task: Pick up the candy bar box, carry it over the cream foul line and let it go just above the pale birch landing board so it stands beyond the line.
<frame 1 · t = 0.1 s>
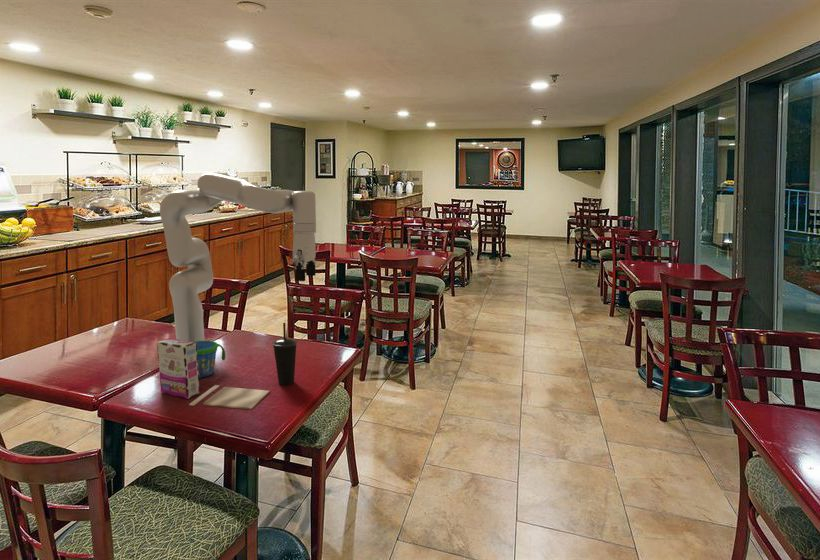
hand: (305, 278, 173), 31 cm above the table, tool pointing down, fingers open, 9 cm apart
drinking cup: (286, 383, 163), on the table
snack cup: (202, 374, 169), on the table
candy bar box: (180, 393, 154), on the table
landing board: (237, 398, 151), on the table
foul line: (204, 395, 152), on the table
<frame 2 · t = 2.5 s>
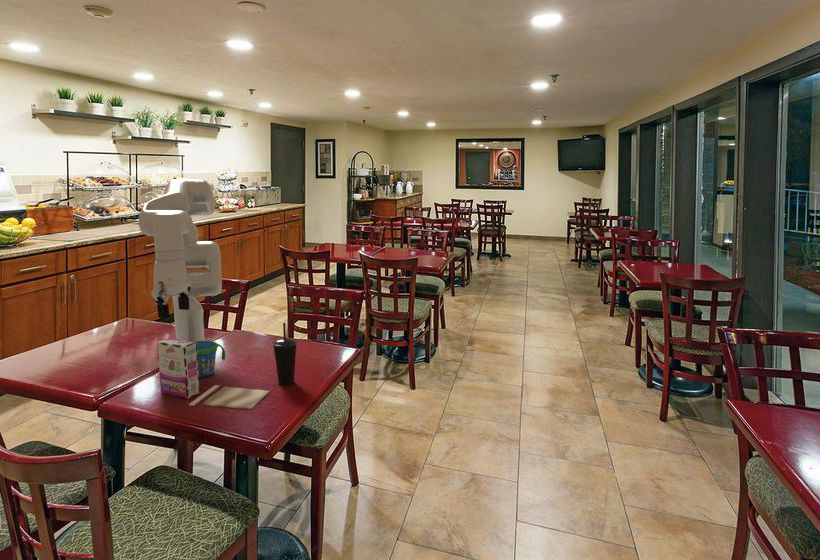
hand: (174, 313, 149), 25 cm above the table, tool pointing down, fingers open, 9 cm apart
nothing on the table moved.
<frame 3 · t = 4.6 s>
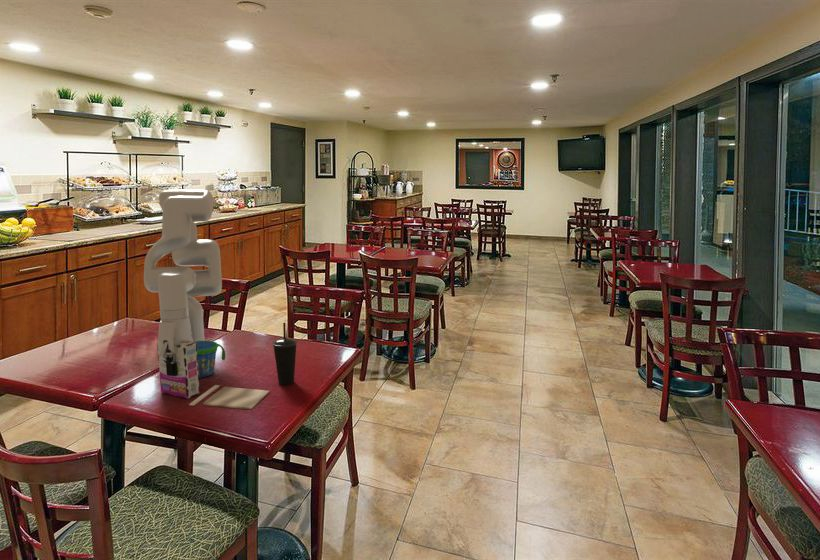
hand: (178, 370, 152), 7 cm above the table, tool pointing down, fingers closed on candy bar box, 5 cm apart
candy bar box: (180, 393, 154), on the table, touching gripper
everything else where it was.
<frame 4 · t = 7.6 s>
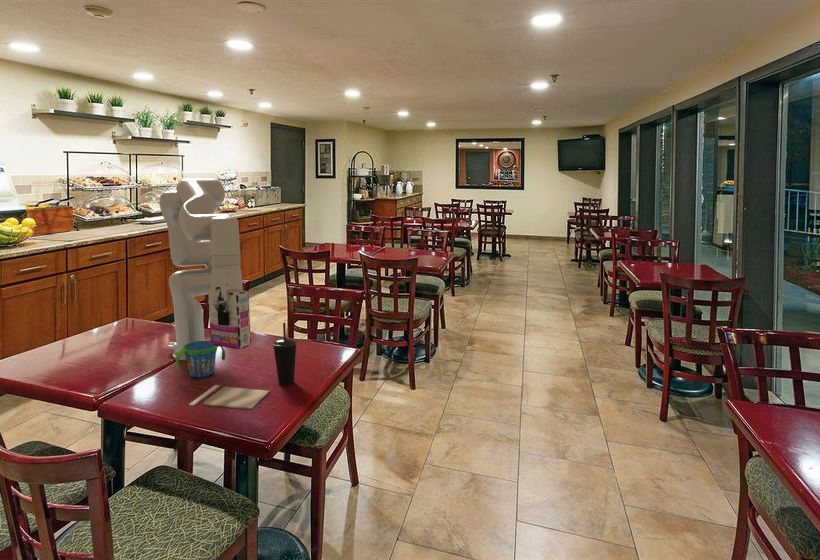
hand: (229, 321, 146), 24 cm above the table, tool pointing down, fingers closed on candy bar box, 5 cm apart
candy bar box: (231, 345, 148), point 16 cm above the table, touching gripper
everything else where it was.
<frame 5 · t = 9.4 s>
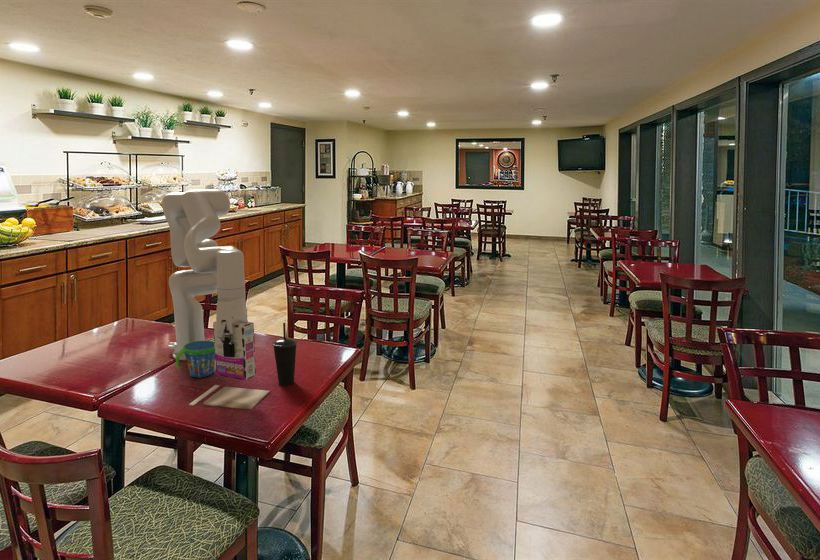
hand: (234, 352, 148), 14 cm above the table, tool pointing down, fingers closed on candy bar box, 5 cm apart
candy bar box: (236, 376, 149), point 7 cm above the table, touching gripper
everything else where it was.
when the fingers open (9 cm above the table, at t = 10.9 s): candy bar box drops 1 cm, resting on landing board.
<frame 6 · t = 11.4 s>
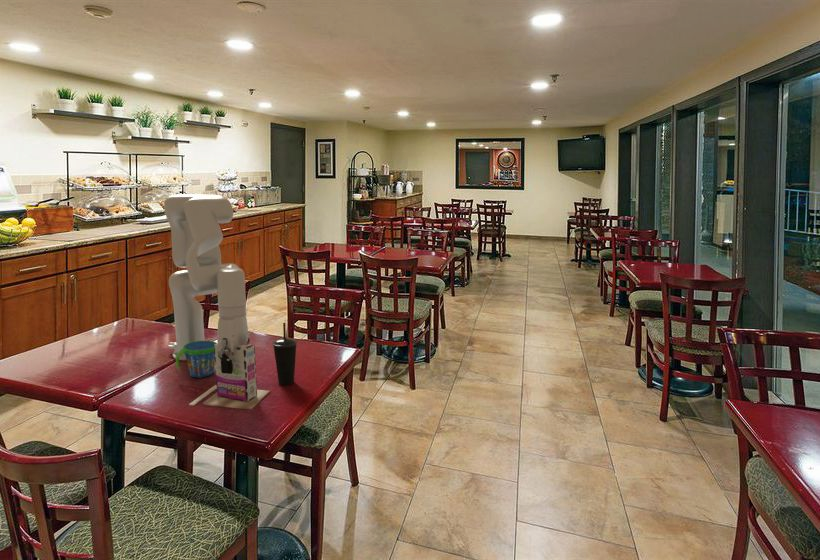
hand: (235, 367, 149), 10 cm above the table, tool pointing down, fingers open, 9 cm apart
candy bar box: (237, 396, 151), resting on landing board
everything else where it was.
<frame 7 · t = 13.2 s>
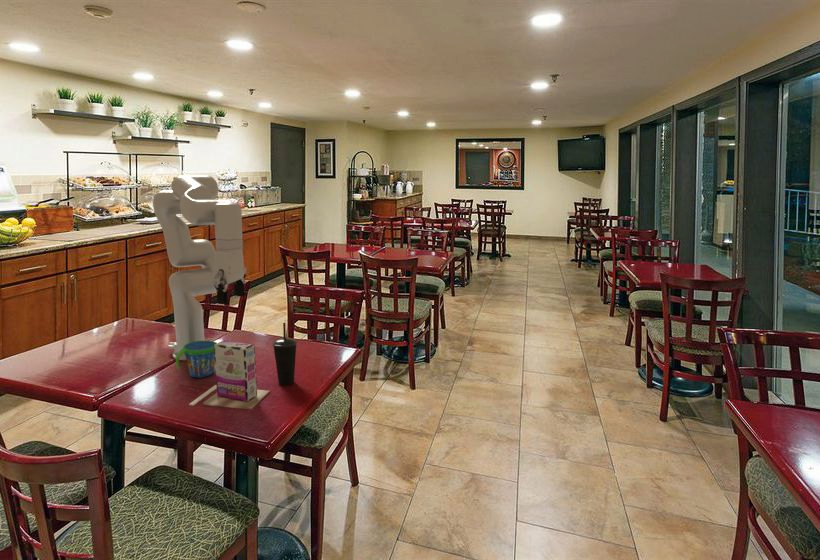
hand: (231, 299, 154), 28 cm above the table, tool pointing down, fingers open, 9 cm apart
nothing on the table moved.
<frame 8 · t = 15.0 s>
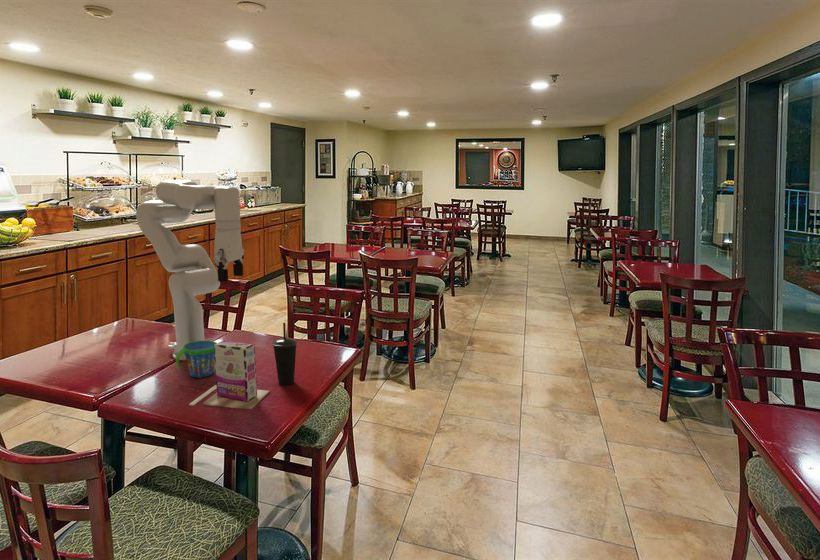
hand: (231, 278, 164), 32 cm above the table, tool pointing down, fingers open, 9 cm apart
nothing on the table moved.
at the end: candy bar box inside the target area (0.3 cm from its centre), resting on landing board; candy bar box tilted 0°; the gripper is holding nothing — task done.
